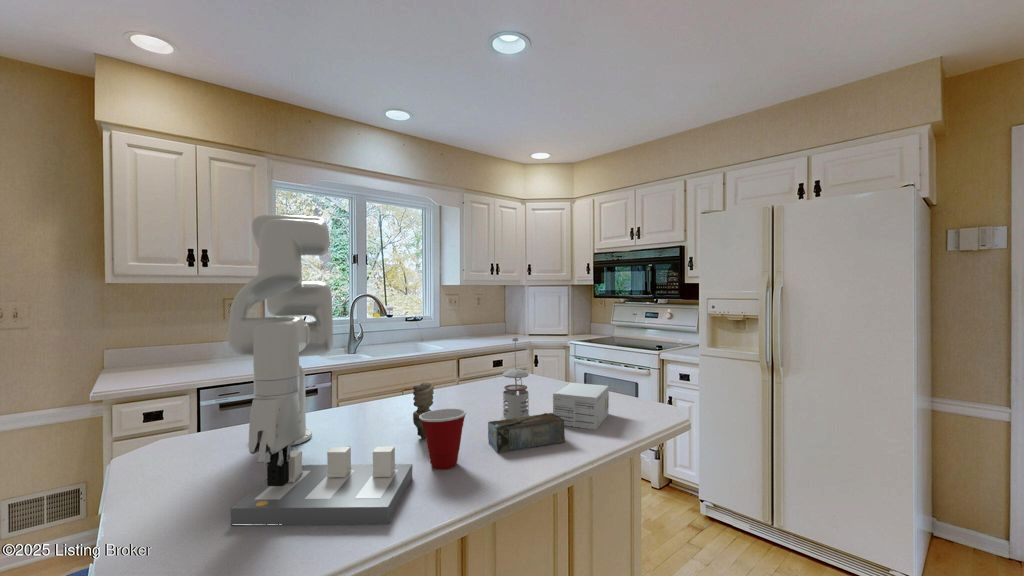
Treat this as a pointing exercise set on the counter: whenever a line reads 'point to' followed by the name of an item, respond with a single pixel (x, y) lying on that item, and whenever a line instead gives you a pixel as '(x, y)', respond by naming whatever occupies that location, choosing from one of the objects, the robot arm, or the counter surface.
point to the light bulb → (422, 404)
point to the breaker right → (383, 461)
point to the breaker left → (295, 465)
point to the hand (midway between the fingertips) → (278, 484)
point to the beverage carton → (525, 432)
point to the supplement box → (581, 404)
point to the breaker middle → (339, 461)
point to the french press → (515, 394)
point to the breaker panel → (326, 498)
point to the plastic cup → (443, 436)
